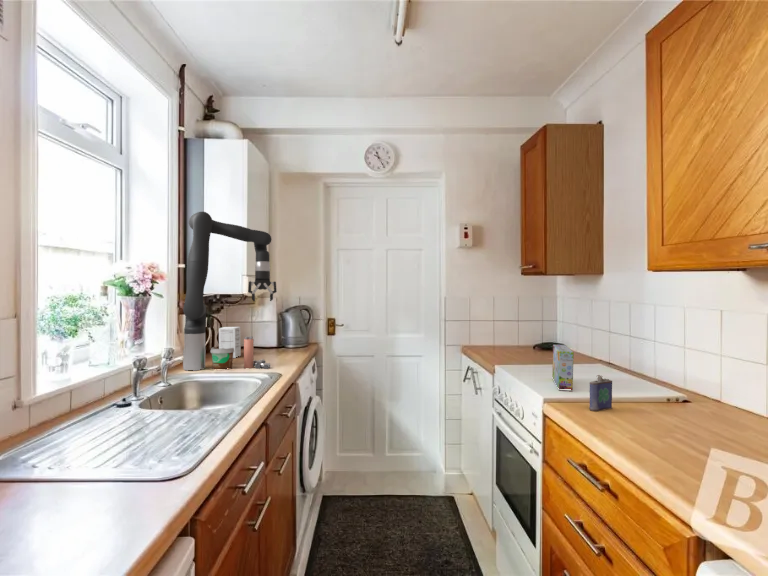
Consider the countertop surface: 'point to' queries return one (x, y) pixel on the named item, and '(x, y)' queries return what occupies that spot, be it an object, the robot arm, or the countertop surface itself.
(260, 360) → the shaft
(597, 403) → the flask
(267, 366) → the shaft
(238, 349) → the supplement box
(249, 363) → the pink capped rod
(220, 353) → the food container
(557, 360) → the snack box
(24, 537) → the countertop surface
